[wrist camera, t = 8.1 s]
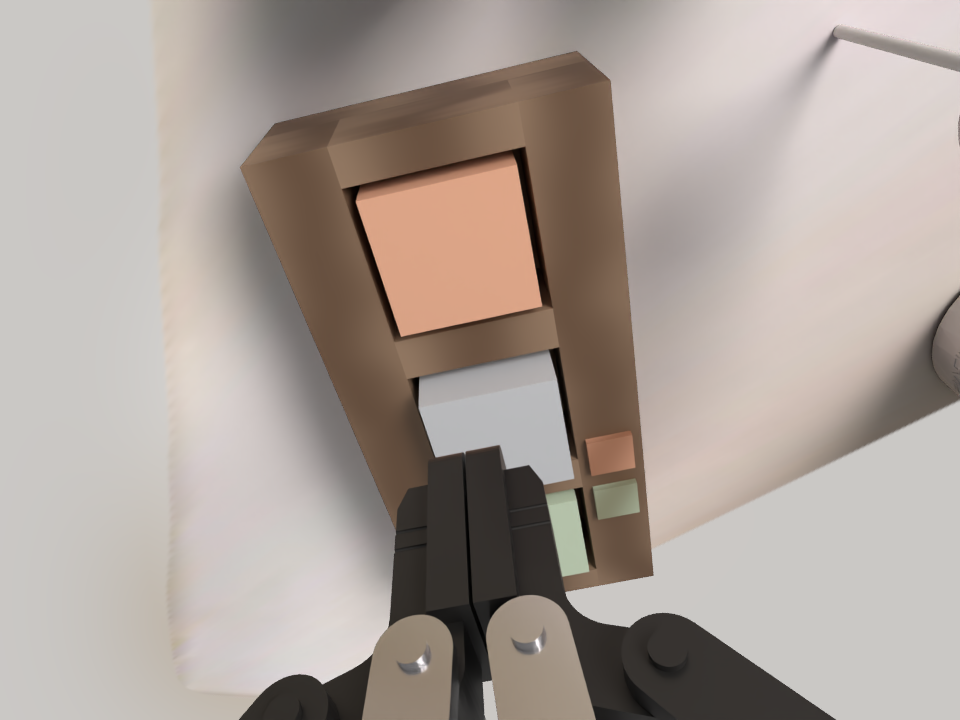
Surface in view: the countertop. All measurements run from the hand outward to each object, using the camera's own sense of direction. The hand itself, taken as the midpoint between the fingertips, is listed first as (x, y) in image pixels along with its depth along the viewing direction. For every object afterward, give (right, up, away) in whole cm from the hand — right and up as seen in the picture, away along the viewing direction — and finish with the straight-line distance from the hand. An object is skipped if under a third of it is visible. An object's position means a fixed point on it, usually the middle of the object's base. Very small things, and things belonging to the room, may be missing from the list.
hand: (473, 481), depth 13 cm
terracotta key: (-1, +8, +11) cm, 14 cm away
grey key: (+1, +1, +15) cm, 15 cm away
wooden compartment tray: (+1, +3, +18) cm, 18 cm away
